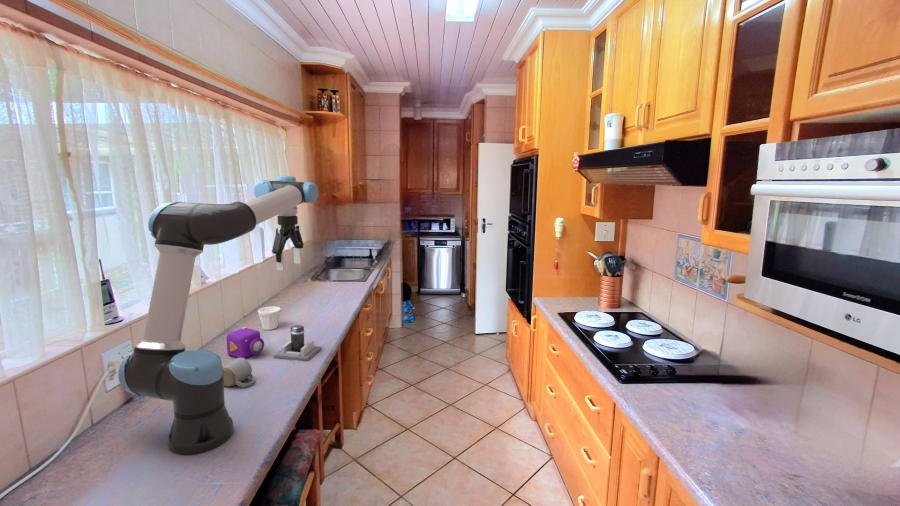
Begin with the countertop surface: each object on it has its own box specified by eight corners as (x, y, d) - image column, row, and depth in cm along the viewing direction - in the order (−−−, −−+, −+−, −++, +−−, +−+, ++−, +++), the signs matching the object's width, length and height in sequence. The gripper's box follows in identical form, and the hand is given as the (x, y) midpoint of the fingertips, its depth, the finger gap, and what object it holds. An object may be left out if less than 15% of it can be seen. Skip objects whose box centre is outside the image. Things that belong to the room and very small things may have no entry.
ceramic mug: (216, 386, 138) (215, 365, 137) (235, 375, 146) (234, 355, 144) (243, 391, 135) (242, 370, 134) (260, 380, 143) (259, 360, 142)
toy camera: (253, 362, 157) (252, 337, 155) (223, 358, 160) (221, 334, 158) (271, 351, 167) (270, 328, 166) (242, 347, 170) (240, 324, 168)
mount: (307, 361, 159) (307, 351, 158) (274, 358, 161) (273, 348, 160) (321, 349, 171) (320, 339, 170) (289, 346, 173) (289, 337, 172)
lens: (307, 350, 166) (306, 326, 164) (295, 354, 162) (294, 330, 160) (300, 347, 169) (299, 323, 167) (288, 350, 165) (287, 326, 163)
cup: (281, 330, 190) (280, 311, 189) (257, 332, 186) (257, 313, 185) (281, 323, 199) (281, 305, 198) (259, 325, 196) (258, 307, 194)
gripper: (279, 217, 150) (281, 273, 154) (310, 213, 175) (312, 261, 178) (260, 216, 151) (263, 272, 155) (294, 212, 176) (296, 260, 179)
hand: (289, 266), depth 167 cm, fingers open, 13 cm apart
